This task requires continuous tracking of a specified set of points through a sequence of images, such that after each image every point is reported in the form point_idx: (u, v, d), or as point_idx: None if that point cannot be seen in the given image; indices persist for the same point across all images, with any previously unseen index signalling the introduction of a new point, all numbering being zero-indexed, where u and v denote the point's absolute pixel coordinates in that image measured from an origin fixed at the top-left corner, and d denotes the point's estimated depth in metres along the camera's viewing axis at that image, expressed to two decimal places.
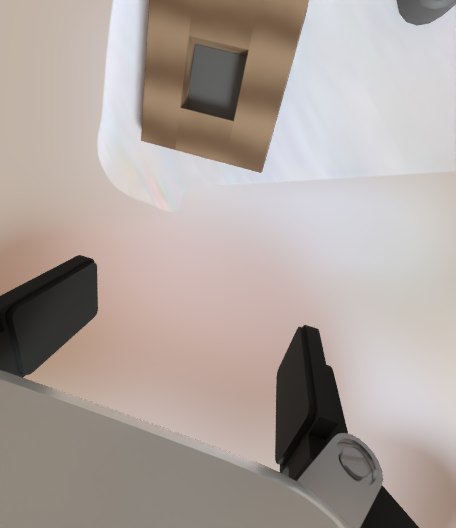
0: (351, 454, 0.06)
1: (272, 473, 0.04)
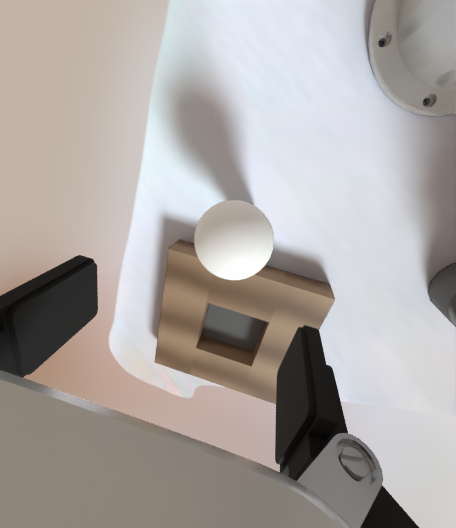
0: (351, 454, 0.06)
1: (272, 473, 0.04)
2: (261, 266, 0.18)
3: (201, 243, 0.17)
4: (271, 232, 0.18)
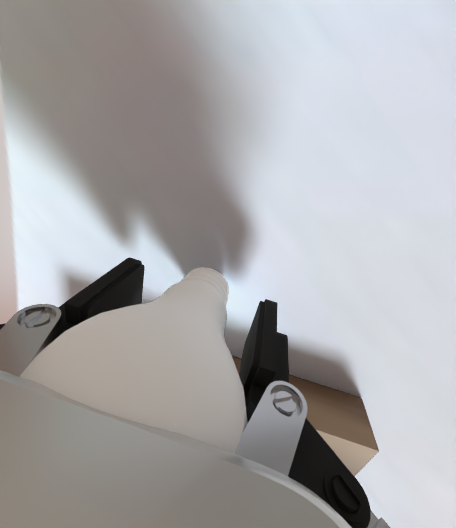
0: (282, 396, 0.07)
1: (272, 473, 0.04)
2: None
3: None
4: (234, 431, 0.06)
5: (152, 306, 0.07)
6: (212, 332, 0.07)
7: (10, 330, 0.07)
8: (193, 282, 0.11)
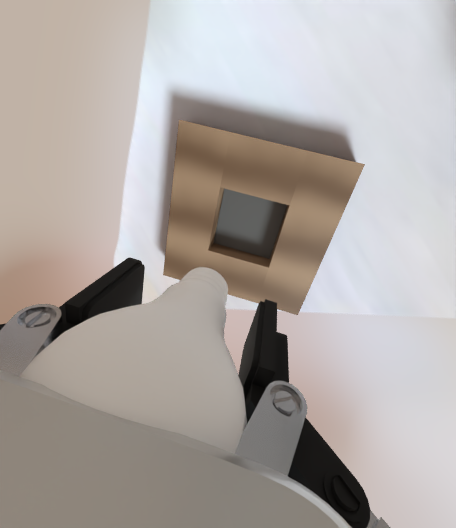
0: (282, 396, 0.07)
1: (272, 473, 0.04)
2: None
3: None
4: (234, 432, 0.06)
5: (151, 307, 0.07)
6: (211, 332, 0.07)
7: (10, 330, 0.07)
8: (192, 282, 0.11)
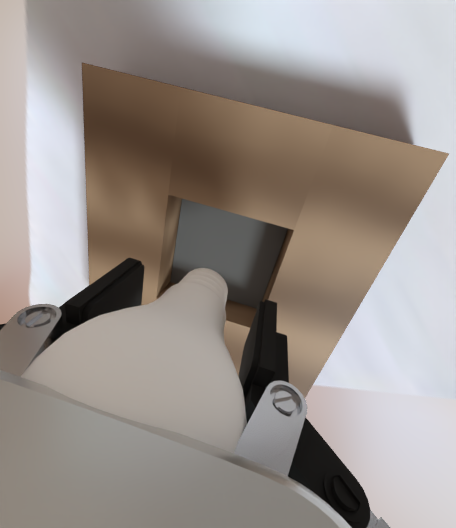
0: (282, 396, 0.07)
1: (272, 473, 0.04)
2: None
3: None
4: (234, 433, 0.06)
5: (151, 308, 0.07)
6: (211, 334, 0.07)
7: (10, 330, 0.07)
8: (192, 283, 0.11)
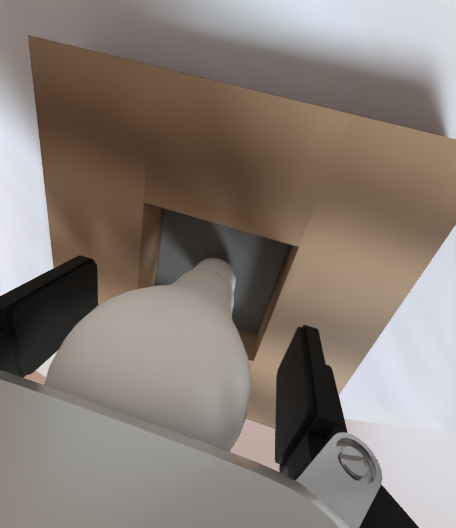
0: (350, 453, 0.06)
1: (272, 473, 0.04)
2: None
3: None
4: (240, 387, 0.07)
5: (170, 286, 0.08)
6: (221, 310, 0.08)
7: None
8: (204, 270, 0.12)
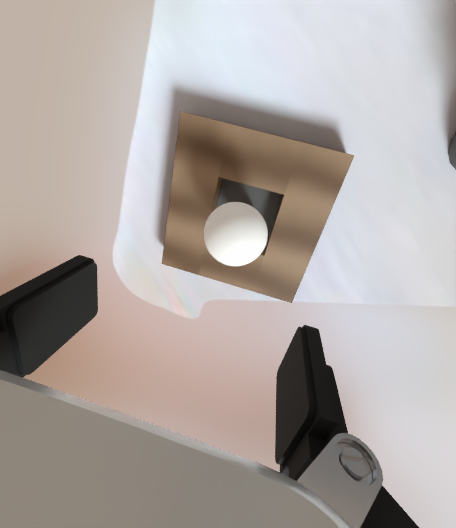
0: (351, 454, 0.06)
1: (272, 473, 0.04)
2: (257, 255, 0.22)
3: (210, 235, 0.22)
4: (265, 228, 0.22)
5: None
6: None
7: None
8: None
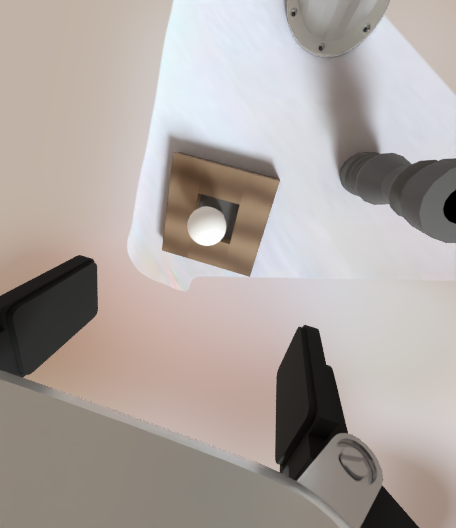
0: (351, 454, 0.06)
1: (272, 473, 0.04)
2: (218, 238, 0.37)
3: (190, 225, 0.37)
4: (224, 222, 0.37)
5: None
6: None
7: None
8: None
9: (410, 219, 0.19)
